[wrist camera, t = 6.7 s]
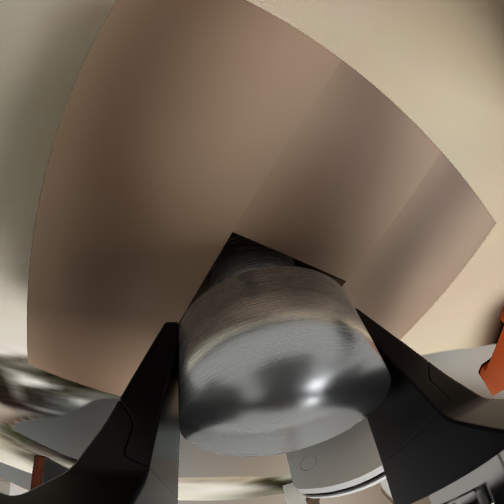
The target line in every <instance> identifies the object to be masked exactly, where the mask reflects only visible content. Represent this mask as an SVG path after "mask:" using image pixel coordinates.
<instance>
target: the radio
mask: <svg viewBox="0 0 504 504" xmlns="http://www.w3.org/2000/svg"><path fill="white" fill-rule="evenodd" d="M67 470H69V469H67V468H65V467H63V466H61V465H60V464H58V463H56V462H54V461H52V460H51V459H49V458H47V457H43V456H35V458H34V465H33V472H32V481H31V490H32V489H34V488H36V487H38V486H40V485H42V484H44V483H46V482H48V481H50V480H52V479H54V478H55V477H57V476H59V475H61V474H63V473H65V472H66V471H67Z"/></svg>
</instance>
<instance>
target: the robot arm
mask: <svg viewBox="0 0 504 504" xmlns="http://www.w3.org/2000/svg"><path fill="white" fill-rule="evenodd" d="M355 310H356V311H357V313H358V315H359V317H360V319H361V320H362V322H363V324H364V326H365V328H366V329H367V331H368V333H369V335H370V337H371V339H372V341H373V342H374V344H375V346H376V348H377V350H378V352H379V354H380V355H381V357H382V359H383V361H384V363H385V365H386V367H387V369H388V371H389V373H390V376H391V384H390V388H389V391H388V393H387V395H386V396H385V398H384V399H383V401H382V402H381V403H380V405H379V406H378V407H377V408H376V409H375V410H374V411H373V412H372V413H371V414H369V415H368V416H367V420H368V423H369V426H370V429H371V432H372V435H373V438H374V441H375V444H376V447H377V450H378V453H379V456H380V459H381V462H382V463H383V464H382V466H383V469H384V472H385V475H386V479H387V482H388V485H389V489H390V492H391V495H392V499H393V502H394V504H412V503H414V502H416V501H418V500H421V499H423V498H425V497H427V496H429V498H430V501H431V503H432V504H504V399H487V398H484V397H481V396H480V395H478V394H476V393H474V392H473V391H471V390H469V389H468V388H466V387H465V386H463V385H462V384H460V383H458V382H457V381H455V380H454V379H452V378H451V377H449V376H448V375H446V374H445V373H443V372H442V371H441V370H439V369H438V368H436V367H435V366H434V365H432V364H431V363H430V362H427V360H426V359H424V358H423V357H422V356H420V355H419V354H418V353H416V352H415V351H414V350H412V349H411V348H410V347H408V346H407V345H406V344H404V343H403V342H402V341H400V340H399V339H398V338H396V337H395V336H394V335H392V334H391V333H390V332H388V331H387V330H386V329H384V328H383V327H382V326H380V325H379V324H378V323H376V322H375V321H374V320H372V319H371V318H369V317H368V316H367V315H365V314H364V313H363V312H361V311H360V310H359V309H356V308H355ZM178 333H179V324H178V322H166V323H165V324H164V325H163V327H162V328H161V330H160V332H159V333H158V335H157V337H156V338H155V340H154V341H153V343H152V345H151V346H150V348H149V350H148V351H147V353H146V355H145V356H144V358H143V360H142V362H141V363H140V365H139V367H138V368H137V370H136V372H135V373H134V375H133V377H132V378H131V380H130V382H129V384H128V385H127V387H126V389H125V390H124V392H123V394H122V396H121V397H120V401H118V402H117V404H116V406H115V408H114V410H113V411H112V413H111V414H110V416H109V418H108V419H107V421H106V423H105V424H104V425H103V427H102V428H101V429H100V431H99V432H98V434H97V435H96V436H95V438H94V439H93V440H92V442H91V443H90V445H89V446H88V447H87V448H86V450H85V451H84V453H83V454H82V455H81V457H80V458H79V459H78V460H77V462H76V463H75V464H74V465H73V466H72V467H71V468H70V469H69V470H67V471H66V472H65V473H63V474H61V475H59V476H57V477H55V478H54V479H52V480H50V481H48V482H46V483H44V484H42V485H40V486H38V487H36V488H34V489H32V490H30V491H28V492H26V493H23V494H20V495H6V494H3V493H1V492H0V504H178V499H177V498H178V466H179V443H180V442H179V441H180V429H179V408H178Z"/></svg>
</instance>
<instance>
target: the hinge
mask: <svg viewBox="0 0 504 504" xmlns="http://www.w3.org/2000/svg"><path fill="white" fill-rule="evenodd" d="M286 454H287V458H288V462H289V467H290V471H291V476H292V480H293V485H294V487H295V488H296V490H297V491H298V492H299V493H302V494H303V495H304V496H306V497H309V498H331V497H337V496H343V495H347V494H351V493H355V492H358V491H361V490H363V489H366V488H368V487H371V486H373V485H375V484H377V483H379V482H381V481H383V480H385V479H386V475H385V472H384V469H383V466H382V464H383V463H382V462H381V459H380V456H379V453H378V450H377V447H376V444H375V441H374V438H373V435H372V432H371V429H370V426H369V423H368V420H367V417H366V418H364V419H363V420H362V421H361V422H359V423H358V424H356V425H355V426H353V427H351V428H350V429H348V430H346V431H344V432H343V433H341V434H339V435H337V436H335V437H333V438H330V439H328V440H326V441H323V442H321V443H318V444H315V445H312V446H309V447H306V448H303V449H299V450H295V451H291V452H286Z"/></svg>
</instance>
